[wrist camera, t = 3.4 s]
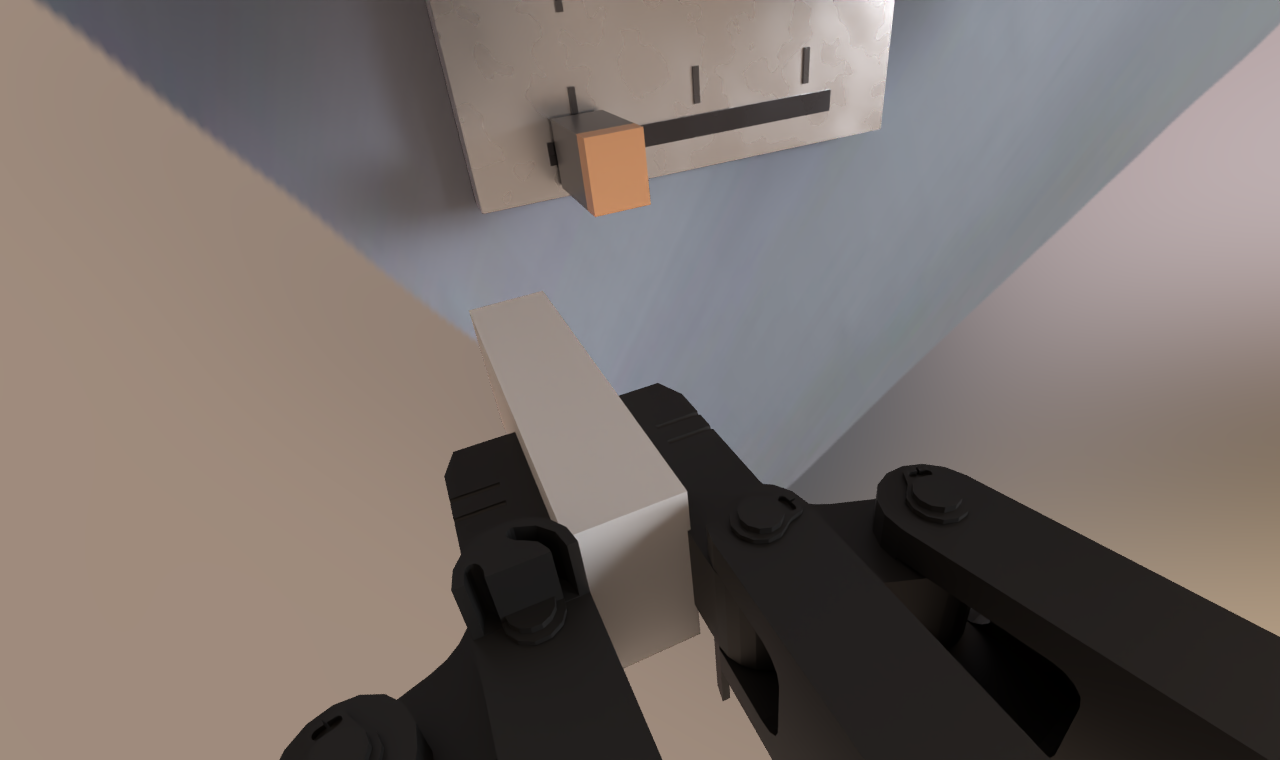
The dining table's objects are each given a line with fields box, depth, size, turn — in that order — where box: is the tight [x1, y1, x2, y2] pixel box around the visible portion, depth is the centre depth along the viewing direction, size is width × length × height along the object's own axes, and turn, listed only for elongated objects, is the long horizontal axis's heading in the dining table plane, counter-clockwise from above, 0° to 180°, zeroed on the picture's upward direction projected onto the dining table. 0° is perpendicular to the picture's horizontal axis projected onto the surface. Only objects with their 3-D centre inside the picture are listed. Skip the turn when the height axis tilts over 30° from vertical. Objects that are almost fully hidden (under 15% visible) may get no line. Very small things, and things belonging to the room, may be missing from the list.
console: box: [425, 0, 894, 214], centre depth 28 cm, size 12×22×2 cm, turn 96°
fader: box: [551, 110, 651, 217], centre depth 26 cm, size 3×2×5 cm
